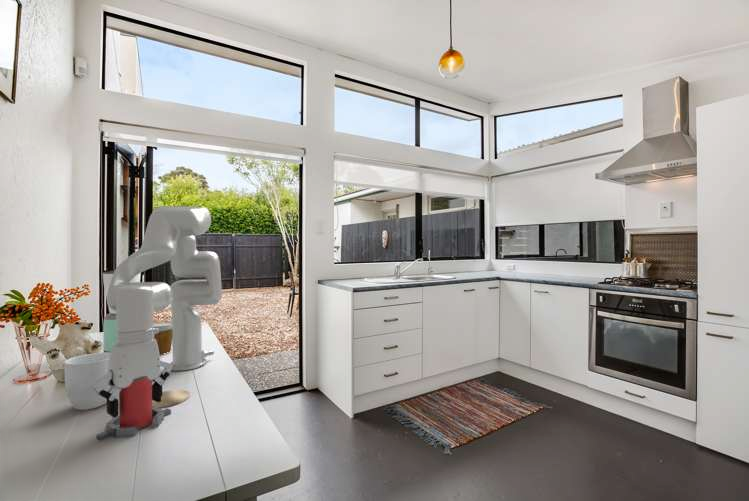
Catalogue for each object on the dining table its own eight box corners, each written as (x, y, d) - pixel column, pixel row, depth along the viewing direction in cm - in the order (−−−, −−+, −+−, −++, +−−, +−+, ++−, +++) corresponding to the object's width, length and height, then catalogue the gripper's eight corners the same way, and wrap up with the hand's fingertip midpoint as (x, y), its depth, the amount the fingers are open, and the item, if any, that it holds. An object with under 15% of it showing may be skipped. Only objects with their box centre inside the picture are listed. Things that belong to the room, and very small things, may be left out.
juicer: (146, 353, 148) (145, 269, 148) (106, 360, 139) (105, 270, 139) (136, 344, 162) (135, 268, 162) (99, 350, 153) (98, 269, 153)
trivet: (176, 389, 108) (176, 387, 108) (197, 396, 102) (197, 394, 102) (136, 402, 99) (136, 400, 99) (157, 411, 93) (157, 409, 93)
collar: (159, 408, 95) (158, 400, 95) (180, 417, 90) (180, 409, 90) (88, 433, 82) (88, 425, 82) (107, 446, 76) (107, 437, 76)
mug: (135, 391, 107) (134, 348, 107) (128, 406, 97) (128, 358, 97) (72, 401, 100) (71, 355, 100) (58, 417, 90) (57, 366, 90)
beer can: (136, 433, 82) (135, 381, 82) (112, 431, 83) (111, 379, 83) (158, 420, 88) (158, 372, 88) (136, 418, 90) (135, 370, 90)
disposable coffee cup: (160, 349, 154) (159, 321, 154) (180, 350, 152) (179, 322, 152) (142, 355, 144) (142, 326, 144) (164, 356, 143) (163, 326, 143)
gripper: (164, 328, 95) (165, 392, 95) (85, 342, 81) (85, 418, 80) (179, 331, 91) (180, 398, 91) (99, 347, 76) (100, 427, 76)
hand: (136, 407), depth 86 cm, fingers open, 9 cm apart
